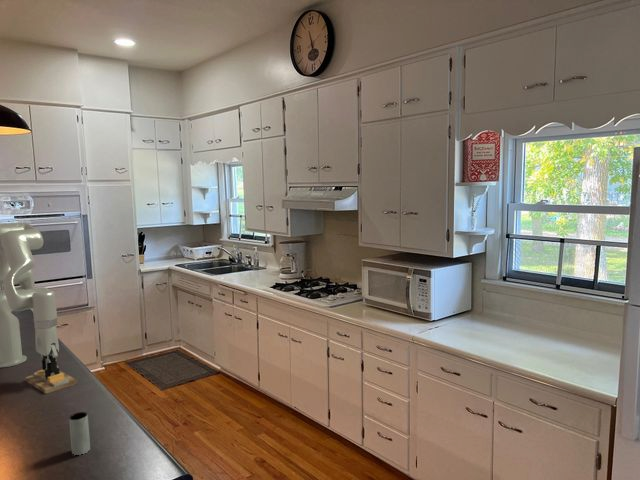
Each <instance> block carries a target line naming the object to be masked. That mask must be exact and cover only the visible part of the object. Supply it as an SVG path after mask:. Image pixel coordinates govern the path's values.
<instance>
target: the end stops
mask: <svg viewBox="0 0 640 480" xmlns="http://www.w3.org/2000/svg"><path fill="white" fill-rule="evenodd" d="M36 372H37V375H38V376H42V375H40V374H43V373H45V370H43V369H41V370H37V371H36ZM63 373H64V372H63ZM63 373H60V374H57V375H53V376H50V377H48V382H53V381H57V380H60V379H63V378H64V374H63ZM43 375H45V374H43Z"/></svg>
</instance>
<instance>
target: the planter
mask: <svg viewBox="0 0 640 480" xmlns="http://www.w3.org/2000/svg"><path fill="white" fill-rule="evenodd" d="M68 423H69V435H70V445H71V454H72V455H73V454H74V455H73V456H75V455H79V456H82V455H81V454H83V455H85V453H86V454H88V453H89V452H90V451H91V441H90V430H89V429H90V427H89V415H88V413H87V412H84V411H79V412H76V413H73V414H71V415H69V418H68ZM89 450H90V451H89ZM88 451H89V452H88Z"/></svg>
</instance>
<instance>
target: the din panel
mask: <svg viewBox="0 0 640 480" xmlns="http://www.w3.org/2000/svg"><path fill="white" fill-rule="evenodd" d="M59 373H63V374H64V378H65V379H67V380H69V382H68V383H65V384H62V385H59V386H56V387H54V386H52V385H50V384H49V383H47V382H45V381H43V380H42V379H40V378H38V377H37V376H35V375H34V374H32V375H28V376H25V379H24V380H25V382H26V383H28V384H30V385H32V386H33V387H35V388H36V389H37V390H38V391H41V392H43V393H44V394H49V393H53V392H56V391H59V390H62V389H65V388H68V387H71V386H74V385H77V384H78V379H76V378H75V377H73V376H70V375H69V374H67V373H65V372H63V371H62V370H59Z"/></svg>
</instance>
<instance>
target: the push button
mask: <svg viewBox="0 0 640 480" xmlns="http://www.w3.org/2000/svg"><path fill="white" fill-rule="evenodd" d="M50 354H52V352H50ZM57 354H58V355H59V352H58V353H57ZM51 357H52V356H50V358H51ZM43 358H44V359H46V370H45V373H43V374H45V376H40V377H46V378H48V377H50V376H53V375H57V374H60V373H59V371H60V368H59V366H58V365H57V371H55V372H52V373H48V370H47V363H48V359H47V356H44V355H43ZM43 374H40V375H43Z"/></svg>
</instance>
